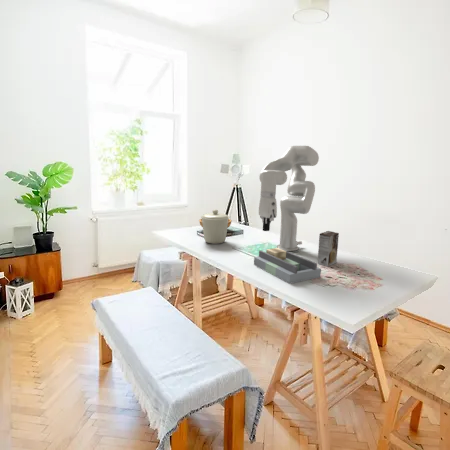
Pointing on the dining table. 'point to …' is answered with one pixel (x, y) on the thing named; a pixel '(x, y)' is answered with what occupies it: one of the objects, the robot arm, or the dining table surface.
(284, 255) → the maple block
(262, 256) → the lane deck
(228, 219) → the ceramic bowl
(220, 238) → the canister
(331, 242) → the coffee box
